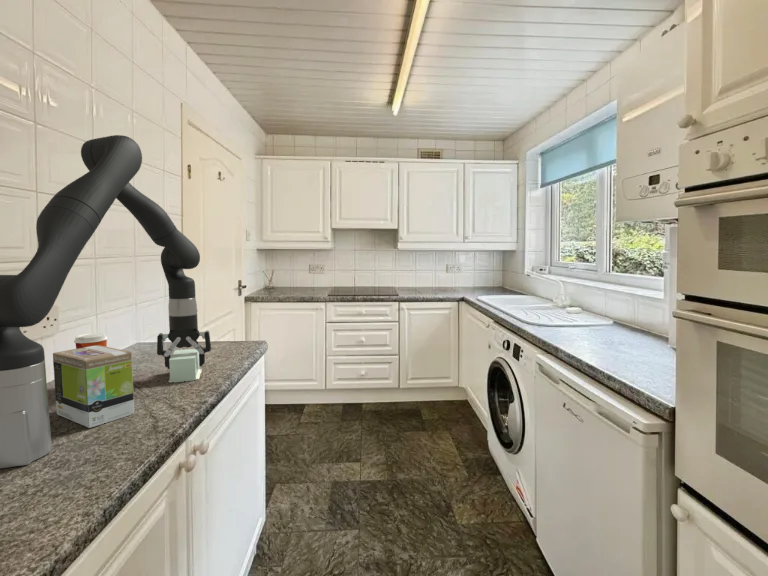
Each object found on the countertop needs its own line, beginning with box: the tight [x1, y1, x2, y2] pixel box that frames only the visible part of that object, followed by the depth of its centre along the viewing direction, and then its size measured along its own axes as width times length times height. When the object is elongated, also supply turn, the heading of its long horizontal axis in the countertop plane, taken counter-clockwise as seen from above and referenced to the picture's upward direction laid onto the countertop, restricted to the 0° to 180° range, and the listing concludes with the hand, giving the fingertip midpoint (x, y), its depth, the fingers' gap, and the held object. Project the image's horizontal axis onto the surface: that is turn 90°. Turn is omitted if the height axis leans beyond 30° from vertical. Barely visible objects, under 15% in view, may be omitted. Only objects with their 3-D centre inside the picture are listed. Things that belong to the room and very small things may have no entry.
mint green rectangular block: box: [169, 348, 200, 384], centre depth 125 cm, size 12×7×7 cm, turn 19°
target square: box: [168, 368, 203, 383], centre depth 125 cm, size 10×8×1 cm
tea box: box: [52, 345, 135, 429], centre depth 95 cm, size 15×10×15 cm
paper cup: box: [73, 332, 109, 349], centre depth 116 cm, size 8×8×14 cm
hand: (185, 367), depth 125 cm, fingers open, 8 cm apart
